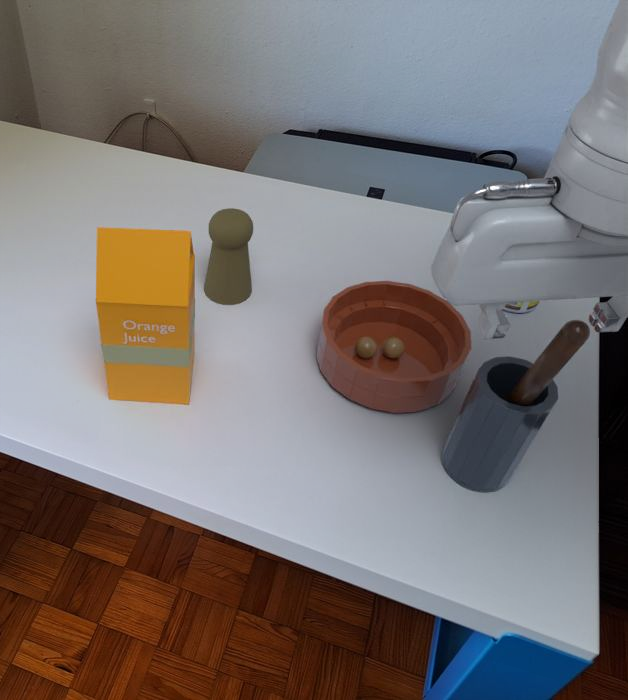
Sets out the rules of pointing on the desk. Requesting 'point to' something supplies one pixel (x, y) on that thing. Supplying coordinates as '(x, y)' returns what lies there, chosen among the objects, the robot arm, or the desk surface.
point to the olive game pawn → (229, 257)
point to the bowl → (384, 322)
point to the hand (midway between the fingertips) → (545, 330)
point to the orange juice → (146, 313)
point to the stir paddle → (550, 362)
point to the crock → (494, 427)
